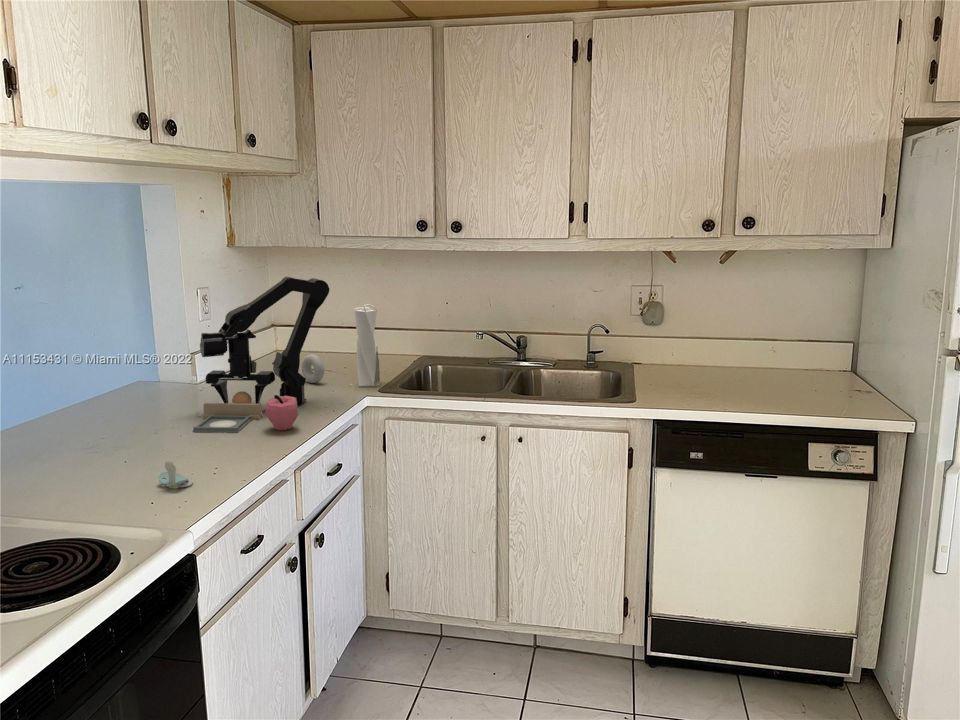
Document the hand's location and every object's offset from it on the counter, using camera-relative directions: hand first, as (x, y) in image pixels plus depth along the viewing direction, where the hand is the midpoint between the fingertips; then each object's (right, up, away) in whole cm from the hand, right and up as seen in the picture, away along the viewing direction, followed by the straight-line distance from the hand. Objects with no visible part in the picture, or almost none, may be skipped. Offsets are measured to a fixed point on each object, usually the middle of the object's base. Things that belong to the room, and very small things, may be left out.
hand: (242, 405), depth 213 cm
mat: (0, -5, -15) cm, 16 cm away
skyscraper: (+32, +5, +31) cm, 45 cm away
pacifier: (+5, -14, -57) cm, 59 cm away
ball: (0, +1, 0) cm, 2 cm away
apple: (+17, -5, -17) cm, 25 cm away
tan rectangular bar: (0, -3, -8) cm, 8 cm away
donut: (+13, +5, +33) cm, 36 cm away
